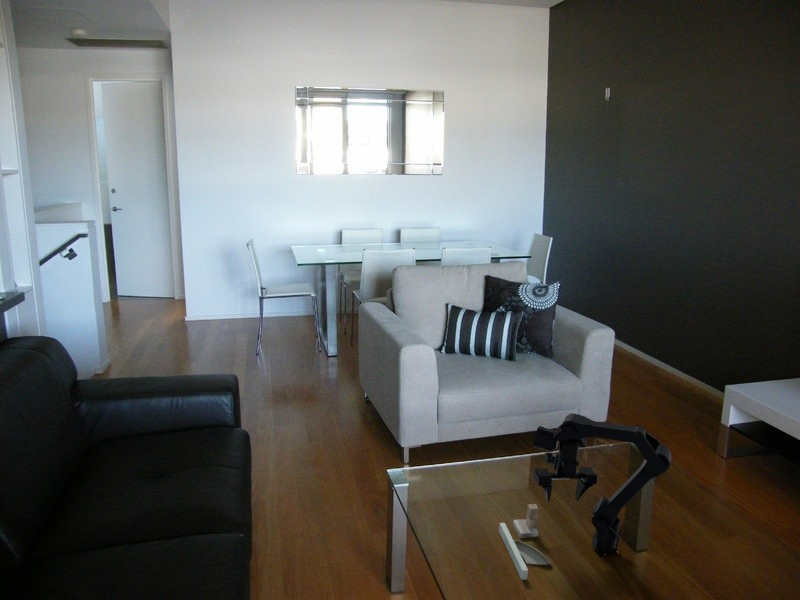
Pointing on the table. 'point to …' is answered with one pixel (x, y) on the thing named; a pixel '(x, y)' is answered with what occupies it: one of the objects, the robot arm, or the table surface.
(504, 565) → the table surface
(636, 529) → the table surface
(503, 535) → the stop rail
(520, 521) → the plate with square post
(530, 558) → the ceramic fragment
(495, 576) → the table surface
